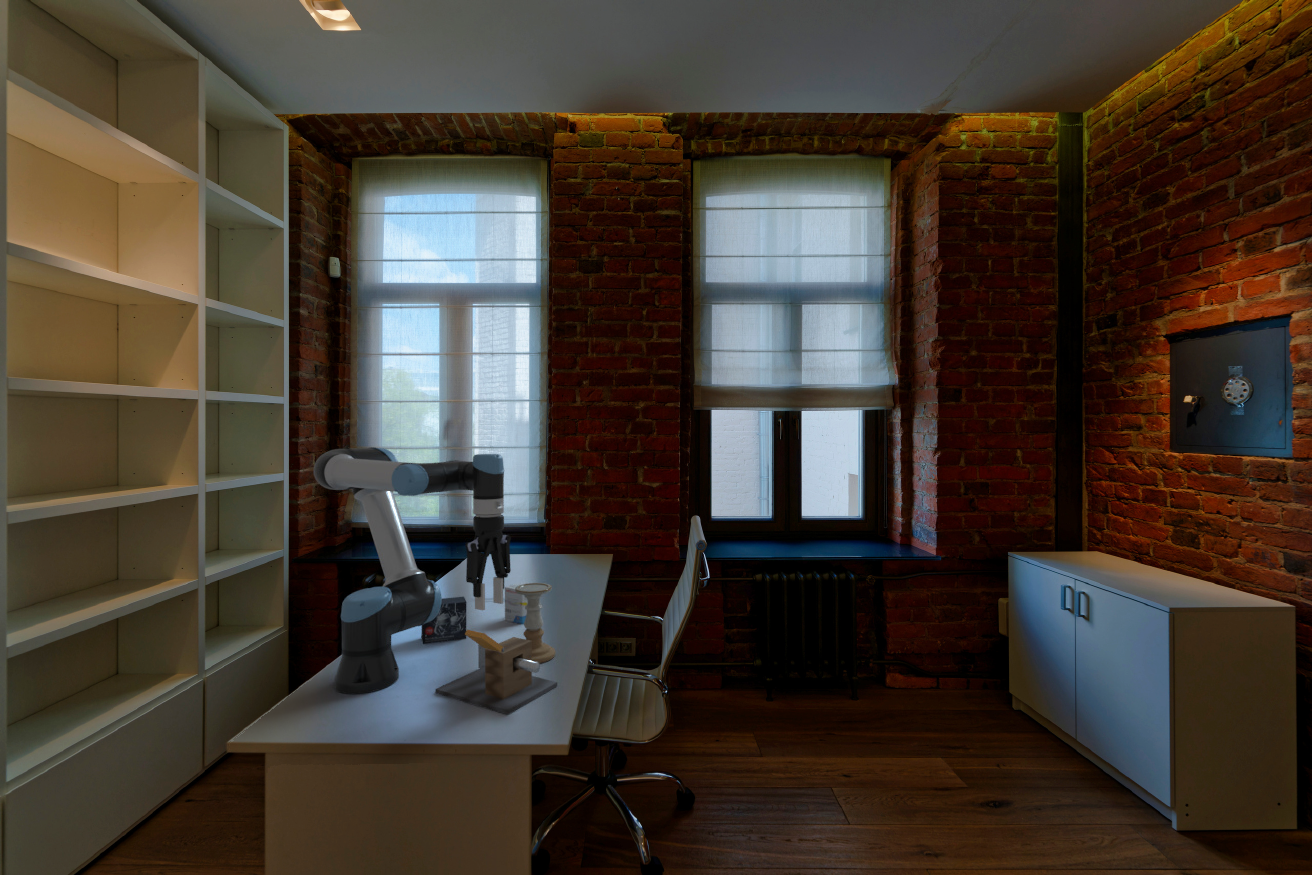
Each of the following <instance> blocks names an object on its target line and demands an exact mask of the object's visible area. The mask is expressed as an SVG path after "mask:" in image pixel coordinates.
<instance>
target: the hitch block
mask: <svg viewBox="0 0 1312 875" xmlns="http://www.w3.org/2000/svg"><path fill="white" fill-rule="evenodd" d="M497 643H498V644H500V645H501V646H502V647H503V648H504V652H499V651H495V650H490V649H485V670H484V669H481V668H478V669H476V670H473V671H472V672H469V673H466V674H465V675H463V676H461V677H459V678H456V679H455V680H452V681H450V682H448V683H446V684H443V685H442V686H439V687H437V688H435V692H434V693H435V694H438V695H441V696H444V697H448V698H451V699H455V700H457V701H460V702H464V703H467V704H471V705H474V706H477V707H481V708H484V709H488V710H489V711H490V710H491V711H494V712H497V713H500V714H503V715H506V716H507V715H510V714H511V713H514V712H515V711H517V710H518V709H520V708H522V707H524V706H525V705H527V704H529V703H531V702H532V701H535V700H536V699H538V698H539V697H541V696H543V695H544V694H547V693H548V692H550V691H551V690H554V689H555V688H557V687H558V681H554V680H549V679H547V678H546V679H545V678H542V677H539V676H534V675H533V672H530V671H526V670H522V669H518V668H514V667H513V658H514V657H517V658H521V659H525V660H530V661H532V641H530V640H526V638H525V639H524V638H520V637H515V636H512V637H510V638H508V639H505V640H503V641H501V642H497Z"/></svg>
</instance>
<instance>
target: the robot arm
mask: <svg viewBox="0 0 1312 875" xmlns="http://www.w3.org/2000/svg"><path fill="white" fill-rule="evenodd" d="M503 458H504V457H503V456H502V455H501V454H499V453H479V454H478V453H477V454H474V455H473V457H472V461H465V460H446V461H441V462H424V463H423V462H421V463H420V462H417V463H416V462H405V461H402V462H401V461H399V460H398V459H397V457H396V455H395V454H394V453H393V452H392V451H391V450H388V449H386V448H384V447H364V448H362V447H361V448H360V447H359V448H335V449H330V450H329V451H327V452H324V453H323V454H321V455H320V456H319V457H318V458H317V460H316V461H315V463H314V466H313V476H314V479H315V480H316V482H317V483H318V484H319V485H320V486H321V487H323V488H325V489H328V490H335V491H344V490H345V491H346V490H351V491H352V494H353V497H354V499H355V500H356V501H360V502H361V504H362V507H363V510H364V514H365V517H366V521H367V524H368V527H369V529H370V533H371V536H372V539H373V543H374V547H375V549H376V552H377V555H378V559H379V562H380V565H381V569H382V572H383V575H384V578H385V580H384V583H383V585H382V586H373V587H369V588H368V587H366V588H363V589H359V590H356V591H354V592H352V593H350V594H348V595H347V596H346V597H344V600H343V601H342V605H341V611H340V612H341V613H340V619H341V658H340V661H339V665H338V668H337V671H336V675H334V676H335V677H334V689H335V690H336V691H337V692H340V693H342V694H343V693H344V694H352V695H353V694H354V695H355V694H364V693H371V692H375V691H380V690H382V689H385V688H387V687H390V686H392V685H393V684H395V683H396V682H397V681H398V680H399V677H400V671H399V666H398V664H397V660H396V657H395V654H394V653H393V650H392V636H393V635H394V634H398V633H401V632H404V631H407V630H410V629H413V628H416V627H422V625H423V624H425V623H427V622H430V621H432V620H433V619H434V618H435V617H436V616H437V615H438V613H439V609H440V608H441V602H442V599H443V598H442V592H441V589H440V586H439V585H438V584H437V583H436V582H435V581H434V580H430V579H427V576H426V573H425V571H422V570H420V569H419V568H418V566H417V564H416V561H415V560H416V559H415V557H414V554H413V551H412V548H411V545H410V542H409V539H408V535H407V533H406V529H405V527H404V522H403V520H402V517H401V514H400V511H399V507H398V504H397V501H396V498H395V495H394V492H395V493H397V494H398V495H400V496H405V497H406V496H409V497H410V496H411V497H413V496H418V495H427V494H433V493H442V492H443V493H444V492H452V491H455V492H456V491H471V492H472V494H473V495H472V498H473V499H472V503H473V504H472V514H473V515H474V516H473V517H472V519H473V520H472V522H473V523H472V524H473V526H472V528H473V531H474V532H475V536H474V538H473V541H471V542H466V543H465V545H464V546H465V549H466V550H465V551H466V570H465V571H466V575H465V578H466V579H465V580H466V581H465V582H466V583H470V584H472V589H473V590H472V595H473V597H474V609H475V610H480V611H485V610H486V583H483V579H484V575H485V571H486V565H487V562H488V561H487V560H488V557H490V558H491V561H492V566H493V570H494V574H495V576H494V577H492V578H493V579H492V580H493V581H492V583H493V584H492V586H493V589H492V590H493V596H492V597H493V598H492V599H493V601H492V603H494V604H499V605H503V604H504V590H505V579H506V578H508V577H509V574H510V573H511V570H512V569H511V548H510V547H511V546H510V545H511V544H510V543H511V539H512V538H511V535H509V534H507V535H506V534H503V530H504V528H505V516H504V515H503V514H504V512H505V511H504V509H505V508H504V506H505V504H504V499H505V497H504V496H505V495H504V491H505V490H504V487H505V486H504V483H505V482H504V477H505V467H504V466H505V465H504V459H503Z"/></svg>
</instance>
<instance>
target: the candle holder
mask: <svg viewBox="0 0 1312 875" xmlns="http://www.w3.org/2000/svg"><path fill="white" fill-rule="evenodd" d="M526 583H527V584H522V585H519V586H517V587H516V588H515V592H516V593H518V594H521V595H524V596H525V597H526V598H527V601H528V603H527V605H526V606H525V609H526V610H527V614H526V619H525V622H524V624H523V626H524V628H525V630H524V632H523V636H524V637H525V640H530V641H532V661H534V662H538V663H539V664H542V663H546V662H548V661H551V660H552V659H554V657H555V656H556V650H555V648H554V647H553V646H550V645H549V644H547V643H545V642H543V638H542V637H543V635H544V634H545V630H543V629H542V628H543V626H544V620H543V617H542V614H541V613H542V612H541V609H543V605H542V603H541V601H540V600H541V597H543V595H546V594H547V593H550V592H551V591H552V585H551V584H550V583H545V582H544V583H543V582H526Z"/></svg>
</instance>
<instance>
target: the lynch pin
mask: <svg viewBox="0 0 1312 875" xmlns="http://www.w3.org/2000/svg"><path fill="white" fill-rule="evenodd" d="M477 646H478V650H477V652H478V654H477V655H478V656H477V657H478V666H477V667H478V669H480V668H481V669H484V670H485V649H486V648H483V647H482V646H481V645H479V644H478V643H477ZM540 664H541V663H538V662H534V661H530V660H525V659H521V658H517V657H514V658H513V667H514V668H518V669H522V670H526V671H530V672H532V673H535V674H536V673H537V674H538V672H539V671H540V669H541V665H540Z"/></svg>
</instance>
